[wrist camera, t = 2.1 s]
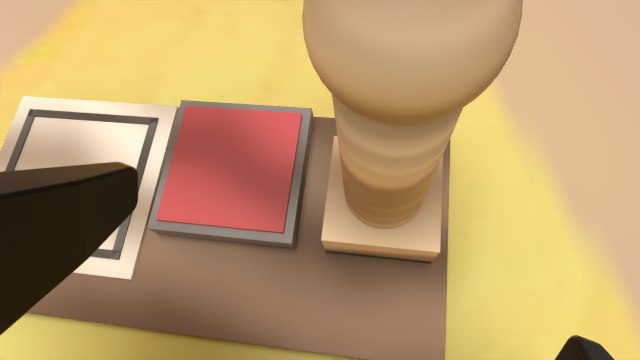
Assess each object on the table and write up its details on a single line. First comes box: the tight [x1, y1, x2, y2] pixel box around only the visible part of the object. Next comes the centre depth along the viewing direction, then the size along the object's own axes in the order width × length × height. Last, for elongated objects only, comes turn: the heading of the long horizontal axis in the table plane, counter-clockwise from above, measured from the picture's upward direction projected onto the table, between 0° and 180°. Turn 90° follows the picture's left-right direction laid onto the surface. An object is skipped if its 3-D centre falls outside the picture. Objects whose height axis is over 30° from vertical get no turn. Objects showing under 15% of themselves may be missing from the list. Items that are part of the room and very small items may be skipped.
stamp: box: [302, 0, 523, 264], centre depth 13 cm, size 5×5×14 cm
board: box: [0, 96, 450, 360], centre depth 20 cm, size 11×23×2 cm, turn 83°
